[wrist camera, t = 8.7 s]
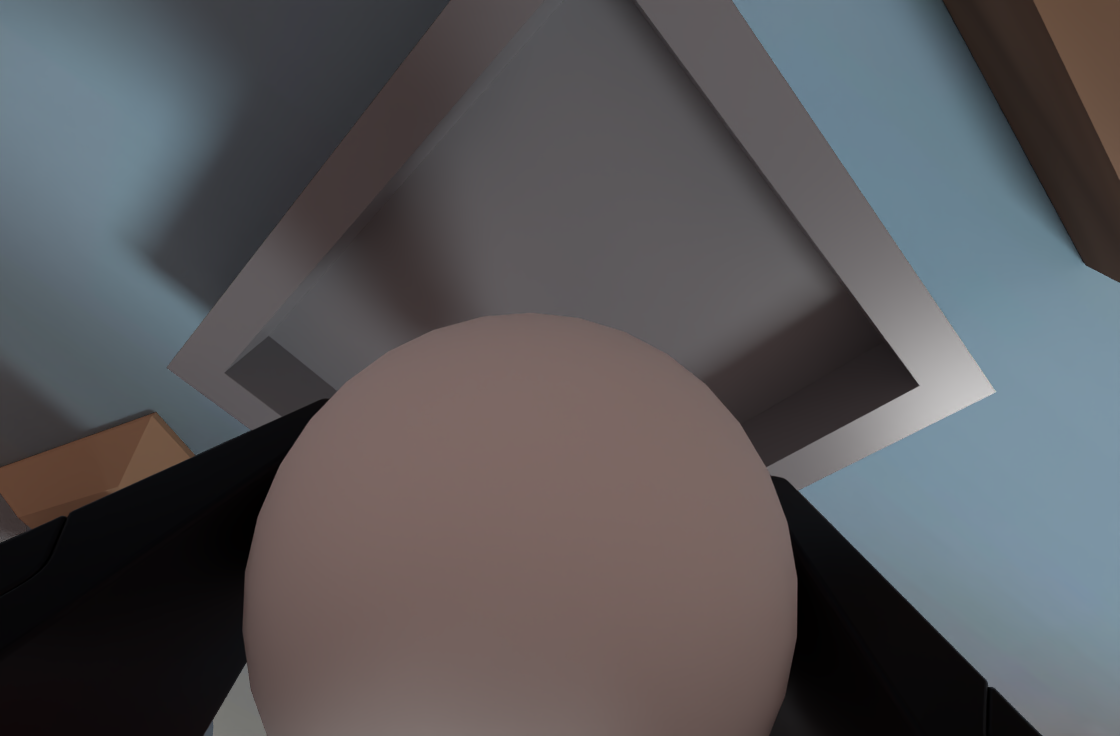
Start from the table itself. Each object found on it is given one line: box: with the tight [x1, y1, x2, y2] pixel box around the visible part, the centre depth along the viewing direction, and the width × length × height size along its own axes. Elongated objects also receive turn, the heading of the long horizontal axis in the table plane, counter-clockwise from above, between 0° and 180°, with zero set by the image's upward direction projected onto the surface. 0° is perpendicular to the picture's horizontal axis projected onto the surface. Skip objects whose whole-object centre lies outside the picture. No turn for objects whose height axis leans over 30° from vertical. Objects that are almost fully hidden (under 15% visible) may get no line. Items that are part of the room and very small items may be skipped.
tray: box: [167, 0, 996, 490], centre depth 15 cm, size 16×14×3 cm
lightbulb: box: [242, 313, 797, 736], centre depth 9 cm, size 6×6×11 cm
